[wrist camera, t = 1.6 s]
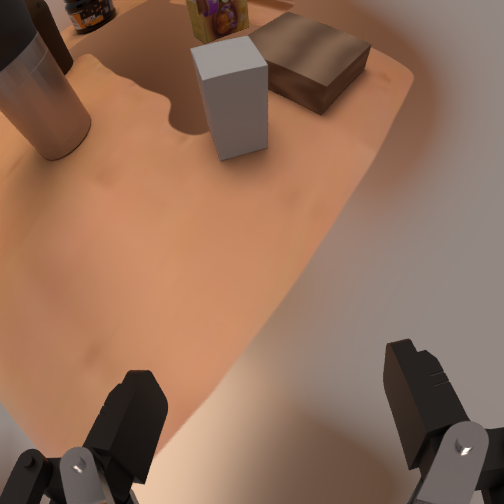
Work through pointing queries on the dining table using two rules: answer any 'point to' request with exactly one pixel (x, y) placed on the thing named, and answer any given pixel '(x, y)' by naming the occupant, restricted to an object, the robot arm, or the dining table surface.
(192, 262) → the dining table surface
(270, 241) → the dining table surface
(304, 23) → the walnut plinth
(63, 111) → the robot arm
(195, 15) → the candy box
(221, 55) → the grey block
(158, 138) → the dining table surface
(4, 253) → the dining table surface
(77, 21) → the supplement container
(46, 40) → the olive oil
